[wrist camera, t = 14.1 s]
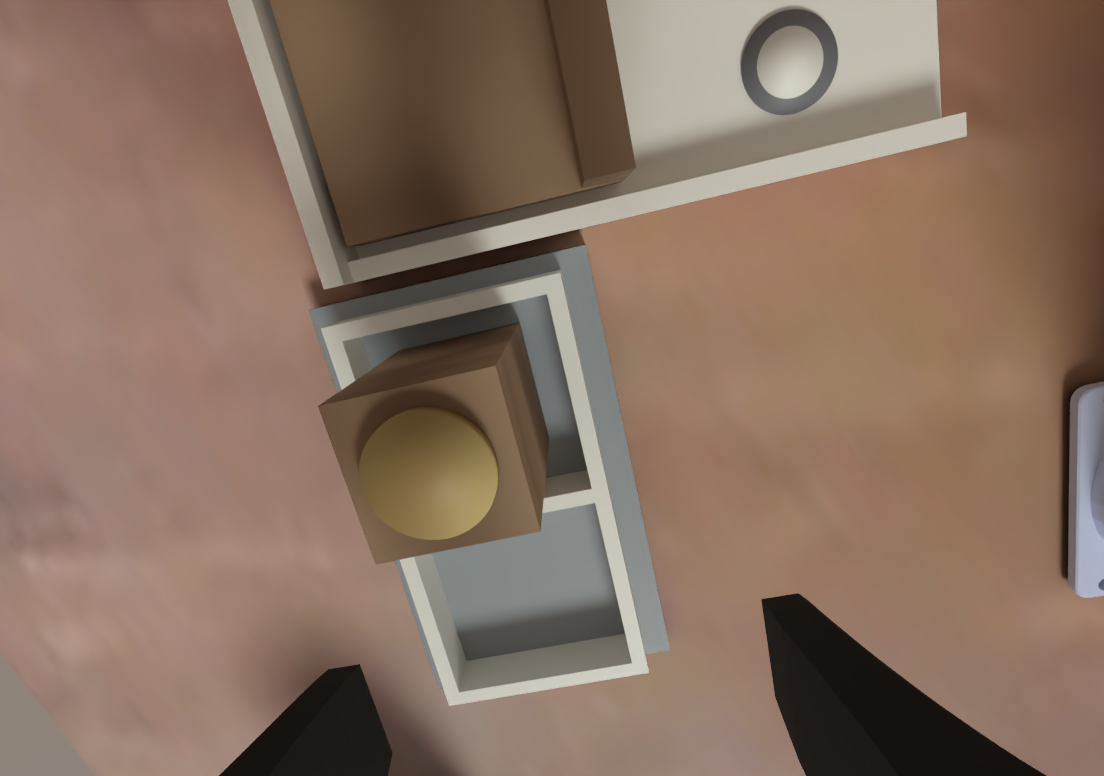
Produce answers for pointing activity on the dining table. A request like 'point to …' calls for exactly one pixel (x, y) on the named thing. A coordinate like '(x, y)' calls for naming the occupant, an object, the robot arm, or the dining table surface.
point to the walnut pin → (443, 445)
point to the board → (668, 115)
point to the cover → (455, 106)
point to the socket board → (569, 497)
